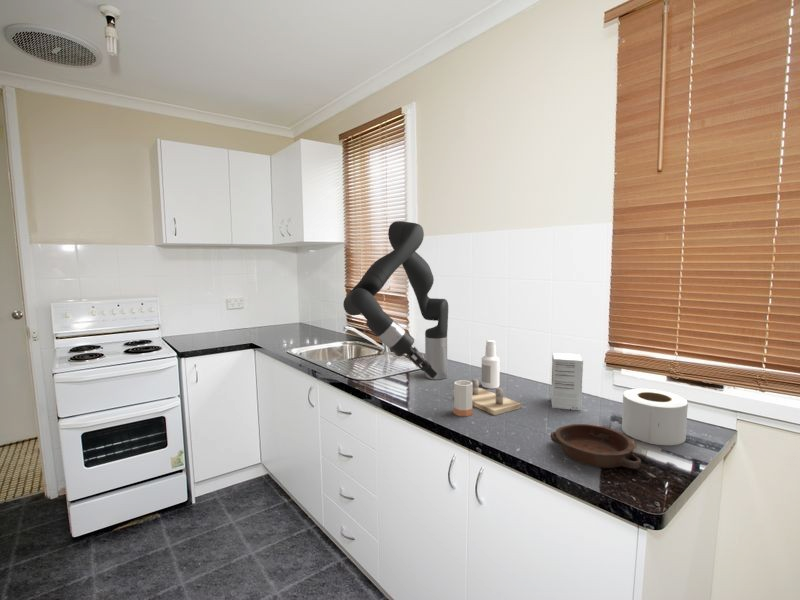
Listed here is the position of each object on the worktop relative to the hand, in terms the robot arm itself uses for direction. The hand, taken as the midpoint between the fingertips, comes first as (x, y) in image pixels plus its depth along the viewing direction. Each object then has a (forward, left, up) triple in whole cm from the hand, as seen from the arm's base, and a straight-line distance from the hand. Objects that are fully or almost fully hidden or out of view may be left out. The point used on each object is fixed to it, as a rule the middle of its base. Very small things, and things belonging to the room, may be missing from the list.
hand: (432, 372), depth 132 cm
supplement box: (+17, +43, -14) cm, 49 cm away
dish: (+44, +18, -14) cm, 50 cm away
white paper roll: (+45, +44, -14) cm, 65 cm away
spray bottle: (-12, +36, -14) cm, 41 cm away
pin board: (+1, +22, -14) cm, 26 cm away
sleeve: (+4, +9, -14) cm, 17 cm away
